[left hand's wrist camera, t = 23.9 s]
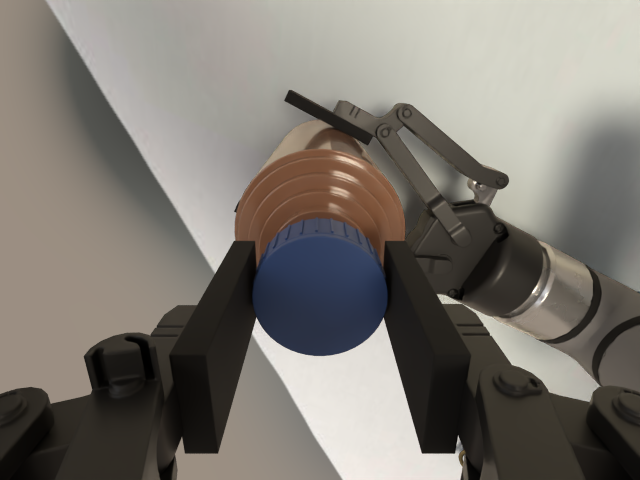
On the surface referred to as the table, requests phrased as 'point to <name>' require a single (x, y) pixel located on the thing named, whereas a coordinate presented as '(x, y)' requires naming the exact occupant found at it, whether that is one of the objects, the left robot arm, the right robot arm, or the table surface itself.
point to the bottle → (319, 189)
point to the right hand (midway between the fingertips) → (262, 151)
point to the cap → (320, 288)
